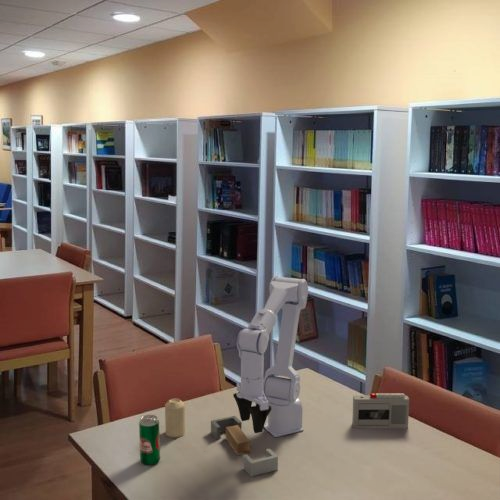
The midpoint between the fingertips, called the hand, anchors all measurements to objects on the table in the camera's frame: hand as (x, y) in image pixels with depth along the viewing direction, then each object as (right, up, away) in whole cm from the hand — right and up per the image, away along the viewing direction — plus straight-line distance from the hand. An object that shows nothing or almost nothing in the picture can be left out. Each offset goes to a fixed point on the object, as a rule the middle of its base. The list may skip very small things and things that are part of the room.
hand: (251, 426), depth 155 cm
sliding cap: (+2, -10, -3) cm, 11 cm away
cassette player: (+37, -6, +21) cm, 43 cm away
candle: (-22, -7, +16) cm, 28 cm away
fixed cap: (-7, -7, +16) cm, 19 cm away
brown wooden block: (-4, -8, +10) cm, 13 cm away
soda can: (-26, -10, +1) cm, 28 cm away
